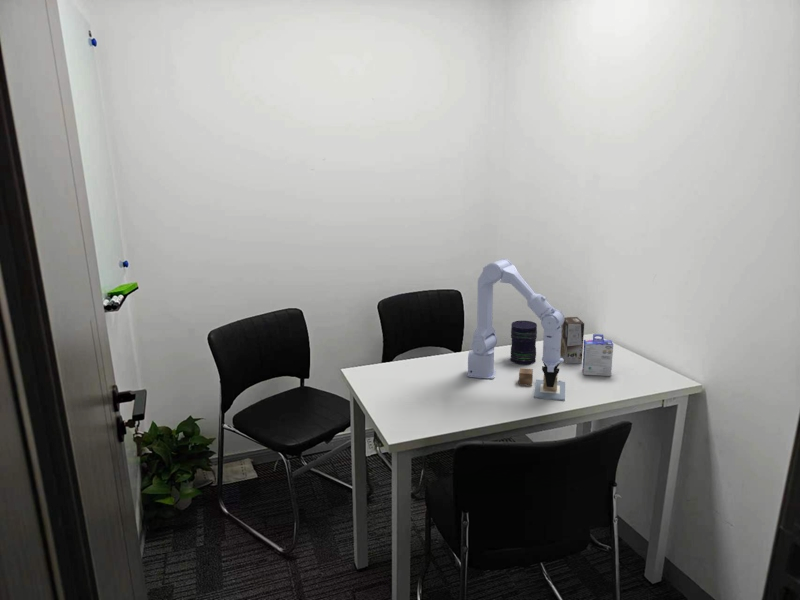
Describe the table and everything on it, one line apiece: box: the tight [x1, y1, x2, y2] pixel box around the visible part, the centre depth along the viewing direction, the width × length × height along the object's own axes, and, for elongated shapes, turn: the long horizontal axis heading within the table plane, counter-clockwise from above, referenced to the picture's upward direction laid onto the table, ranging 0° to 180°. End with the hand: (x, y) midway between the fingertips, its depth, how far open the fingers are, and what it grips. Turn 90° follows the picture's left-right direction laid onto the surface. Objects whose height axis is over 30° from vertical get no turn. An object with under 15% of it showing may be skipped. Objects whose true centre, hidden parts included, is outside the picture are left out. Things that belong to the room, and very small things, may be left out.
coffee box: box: [560, 316, 585, 364], centre depth 209 cm, size 9×6×16 cm
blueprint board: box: [533, 379, 566, 402], centre depth 184 cm, size 10×14×1 cm
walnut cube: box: [518, 367, 534, 387], centre depth 191 cm, size 4×4×4 cm
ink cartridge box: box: [581, 333, 614, 377], centre depth 195 cm, size 10×6×14 cm, turn 78°
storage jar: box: [510, 320, 538, 366], centre depth 209 cm, size 10×10×15 cm
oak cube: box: [542, 373, 559, 391], centre depth 183 cm, size 4×4×4 cm
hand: (550, 383), depth 184 cm, fingers closed on oak cube, 4 cm apart
